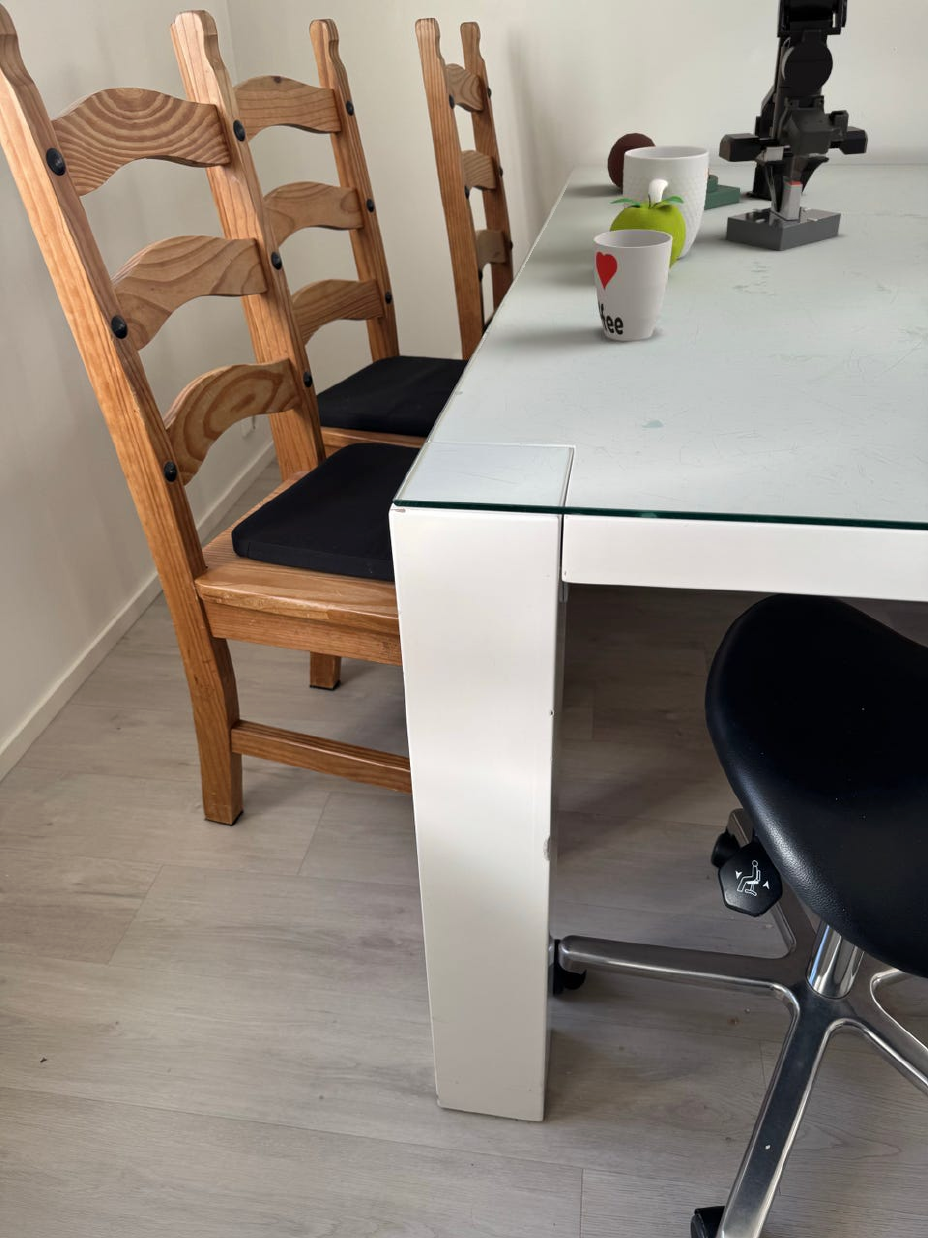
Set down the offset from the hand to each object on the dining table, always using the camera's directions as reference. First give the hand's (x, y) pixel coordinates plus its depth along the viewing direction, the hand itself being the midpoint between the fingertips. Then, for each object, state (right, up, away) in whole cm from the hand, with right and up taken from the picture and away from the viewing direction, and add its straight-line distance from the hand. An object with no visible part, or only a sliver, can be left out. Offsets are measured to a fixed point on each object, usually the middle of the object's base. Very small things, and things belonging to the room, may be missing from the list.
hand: (784, 211), depth 136 cm
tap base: (0, -3, +2) cm, 4 cm away
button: (-7, +15, +22) cm, 28 cm away
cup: (-27, -26, -30) cm, 49 cm away
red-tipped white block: (0, 0, 0) cm, 0 cm away
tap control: (-7, +12, +24) cm, 28 cm away
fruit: (-22, -14, -12) cm, 28 cm away
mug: (-19, -8, -4) cm, 21 cm away
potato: (-15, +19, +37) cm, 44 cm away
